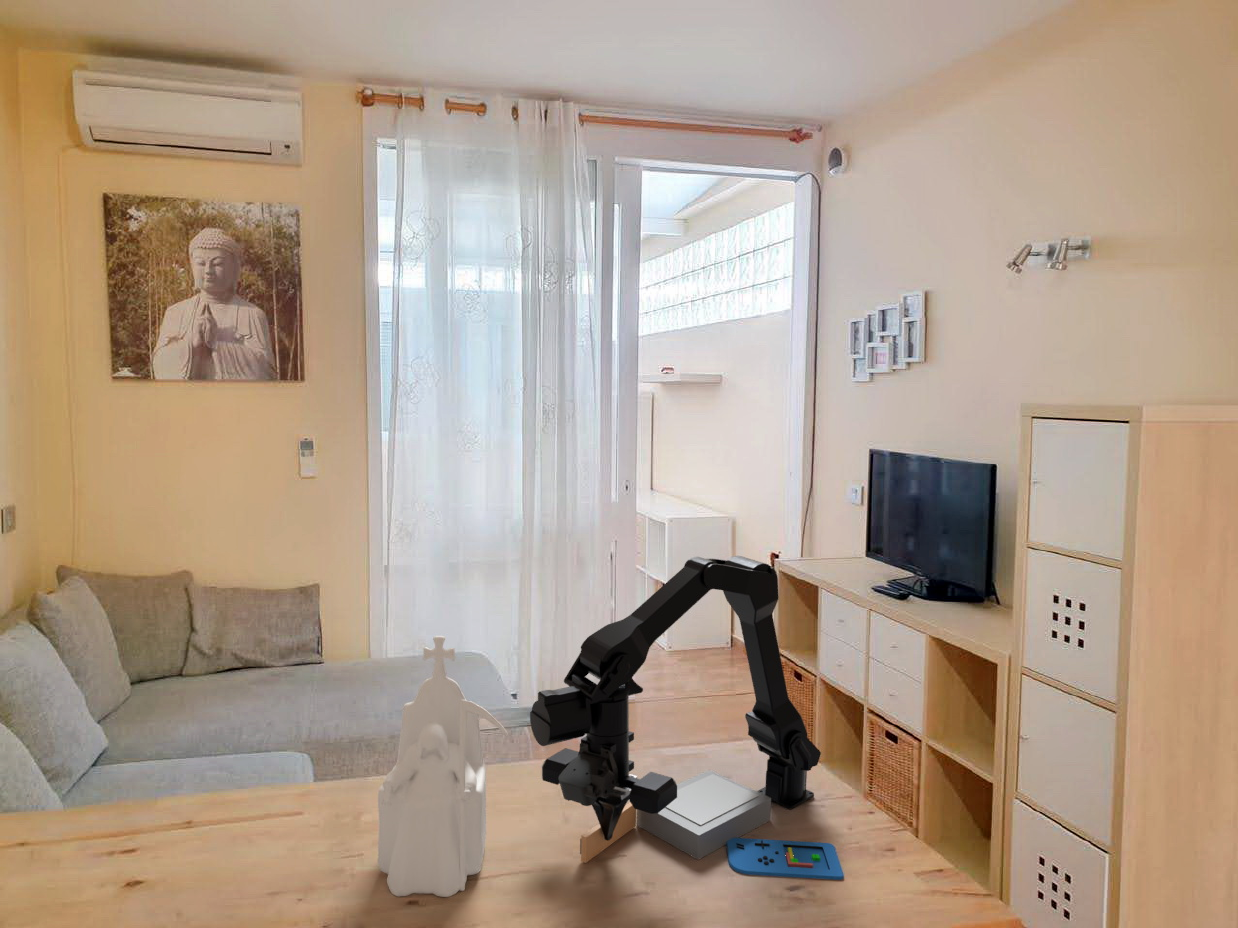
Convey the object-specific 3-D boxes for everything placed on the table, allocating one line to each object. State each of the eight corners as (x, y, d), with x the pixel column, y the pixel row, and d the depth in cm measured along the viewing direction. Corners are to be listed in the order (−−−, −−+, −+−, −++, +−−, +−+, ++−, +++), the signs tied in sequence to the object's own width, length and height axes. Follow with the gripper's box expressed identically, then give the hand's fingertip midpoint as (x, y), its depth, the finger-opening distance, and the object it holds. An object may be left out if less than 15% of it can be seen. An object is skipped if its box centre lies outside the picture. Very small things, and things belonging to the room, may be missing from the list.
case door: (635, 825, 128) (636, 802, 127) (585, 862, 118) (586, 837, 117) (629, 823, 128) (629, 799, 128) (578, 859, 119) (579, 834, 118)
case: (708, 790, 139) (709, 768, 139) (770, 820, 131) (771, 796, 130) (636, 824, 128) (637, 801, 128) (698, 859, 120) (699, 834, 119)
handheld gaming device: (726, 834, 125) (833, 840, 124) (726, 842, 125) (833, 848, 124) (730, 867, 117) (844, 874, 116) (729, 875, 117) (844, 882, 116)
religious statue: (367, 900, 109) (363, 668, 105) (394, 839, 123) (391, 631, 119) (506, 902, 110) (507, 670, 106) (517, 841, 123) (519, 634, 119)
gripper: (515, 733, 117) (517, 845, 119) (634, 766, 107) (634, 888, 108) (565, 707, 126) (566, 811, 128) (679, 735, 116) (679, 848, 118)
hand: (608, 838), depth 120 cm, fingers closed
